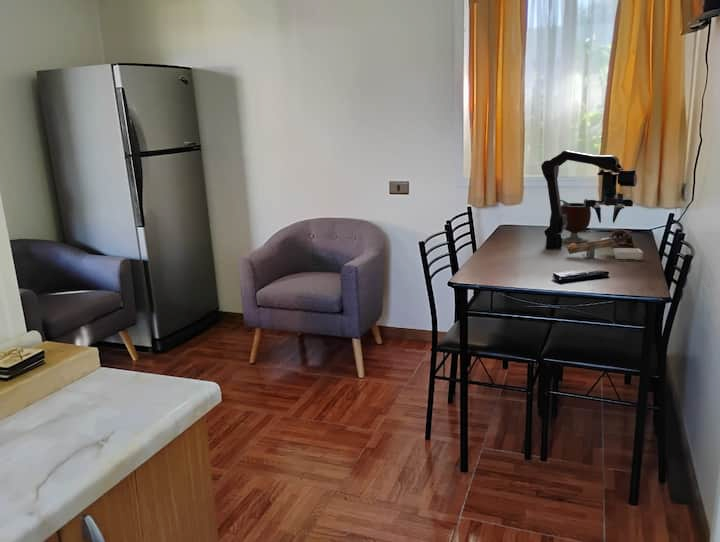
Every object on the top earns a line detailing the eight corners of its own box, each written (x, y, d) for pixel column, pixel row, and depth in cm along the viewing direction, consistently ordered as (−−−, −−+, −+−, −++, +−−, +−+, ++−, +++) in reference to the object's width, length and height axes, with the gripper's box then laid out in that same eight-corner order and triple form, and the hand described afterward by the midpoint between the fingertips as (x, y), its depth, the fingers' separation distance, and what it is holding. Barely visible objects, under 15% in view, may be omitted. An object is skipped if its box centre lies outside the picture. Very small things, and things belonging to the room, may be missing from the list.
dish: (616, 259, 248) (616, 252, 247) (612, 255, 255) (613, 248, 255) (642, 259, 246) (643, 252, 246) (638, 256, 253) (638, 248, 253)
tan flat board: (569, 254, 252) (568, 247, 252) (565, 247, 266) (564, 241, 265) (615, 245, 248) (614, 238, 248) (608, 239, 261) (607, 232, 261)
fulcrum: (585, 259, 250) (586, 247, 249) (582, 255, 258) (583, 243, 257) (598, 259, 249) (599, 247, 248) (594, 255, 257) (595, 243, 256)
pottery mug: (638, 248, 270) (632, 233, 267) (617, 257, 273) (611, 242, 270) (629, 236, 281) (623, 222, 278) (609, 245, 284) (603, 231, 280)
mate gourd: (576, 236, 299) (578, 196, 294) (595, 241, 286) (598, 199, 281) (549, 239, 294) (551, 198, 290) (567, 244, 281) (570, 201, 277)
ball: (571, 251, 253) (568, 245, 253) (570, 250, 256) (567, 244, 256) (578, 248, 252) (575, 242, 252) (577, 247, 255) (574, 241, 255)
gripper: (588, 188, 249) (586, 226, 253) (637, 187, 245) (634, 225, 249) (584, 185, 260) (582, 221, 263) (630, 185, 256) (628, 221, 260)
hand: (606, 222), depth 259 cm, fingers open, 5 cm apart
